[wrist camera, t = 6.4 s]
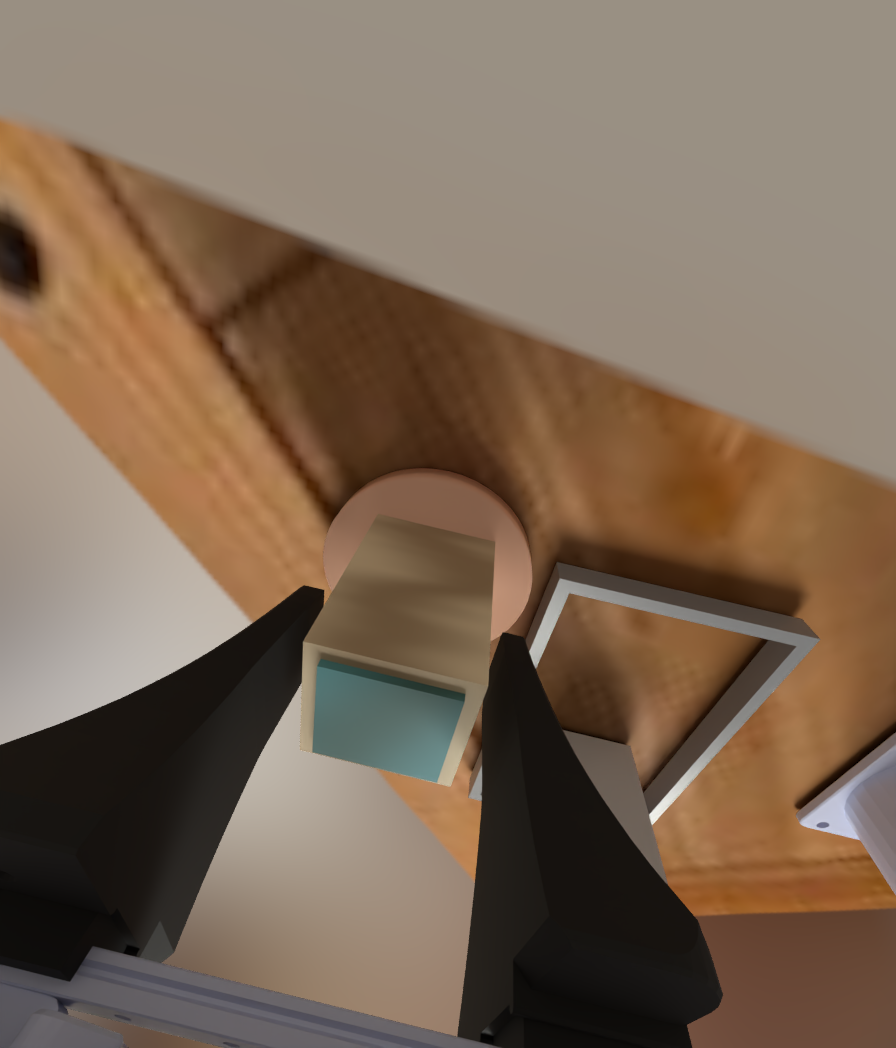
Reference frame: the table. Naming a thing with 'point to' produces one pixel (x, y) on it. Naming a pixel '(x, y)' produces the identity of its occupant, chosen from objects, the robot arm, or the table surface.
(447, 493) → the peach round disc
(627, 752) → the grey block
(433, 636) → the tan and teal block
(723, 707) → the open rectangular frame
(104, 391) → the table surface
